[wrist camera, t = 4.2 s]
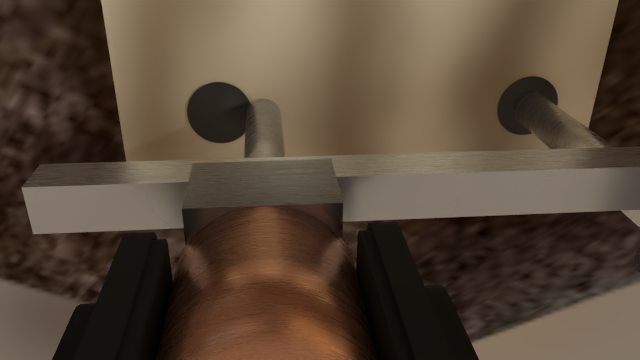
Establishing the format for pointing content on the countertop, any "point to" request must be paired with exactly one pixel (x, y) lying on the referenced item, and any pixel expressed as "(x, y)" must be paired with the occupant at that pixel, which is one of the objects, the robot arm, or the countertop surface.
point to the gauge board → (348, 72)
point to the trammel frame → (370, 182)
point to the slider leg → (265, 260)
